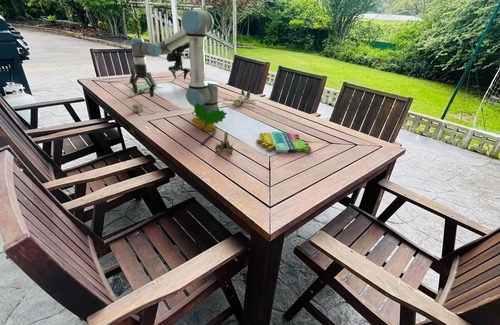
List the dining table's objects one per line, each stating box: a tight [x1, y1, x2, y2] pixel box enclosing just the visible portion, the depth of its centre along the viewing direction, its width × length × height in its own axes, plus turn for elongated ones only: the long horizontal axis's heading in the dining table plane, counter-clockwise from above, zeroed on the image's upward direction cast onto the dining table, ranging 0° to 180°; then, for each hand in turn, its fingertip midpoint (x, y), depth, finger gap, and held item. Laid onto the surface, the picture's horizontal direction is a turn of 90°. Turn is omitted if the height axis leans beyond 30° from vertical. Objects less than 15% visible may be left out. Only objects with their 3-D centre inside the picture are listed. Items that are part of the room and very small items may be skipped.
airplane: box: [127, 74, 164, 98], centre depth 226 cm, size 38×31×10 cm
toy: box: [223, 89, 257, 106], centre depth 219 cm, size 28×7×30 cm
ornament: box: [191, 102, 228, 132], centre depth 162 cm, size 21×8×15 cm, turn 105°
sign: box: [256, 131, 312, 154], centre depth 152 cm, size 26×2×30 cm
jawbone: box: [214, 131, 234, 156], centre depth 136 cm, size 9×15×10 cm
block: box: [132, 103, 144, 114], centre depth 183 cm, size 5×4×5 cm
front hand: (144, 95), depth 185 cm, fingers open, 13 cm apart
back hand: (179, 79), depth 238 cm, fingers open, 9 cm apart
